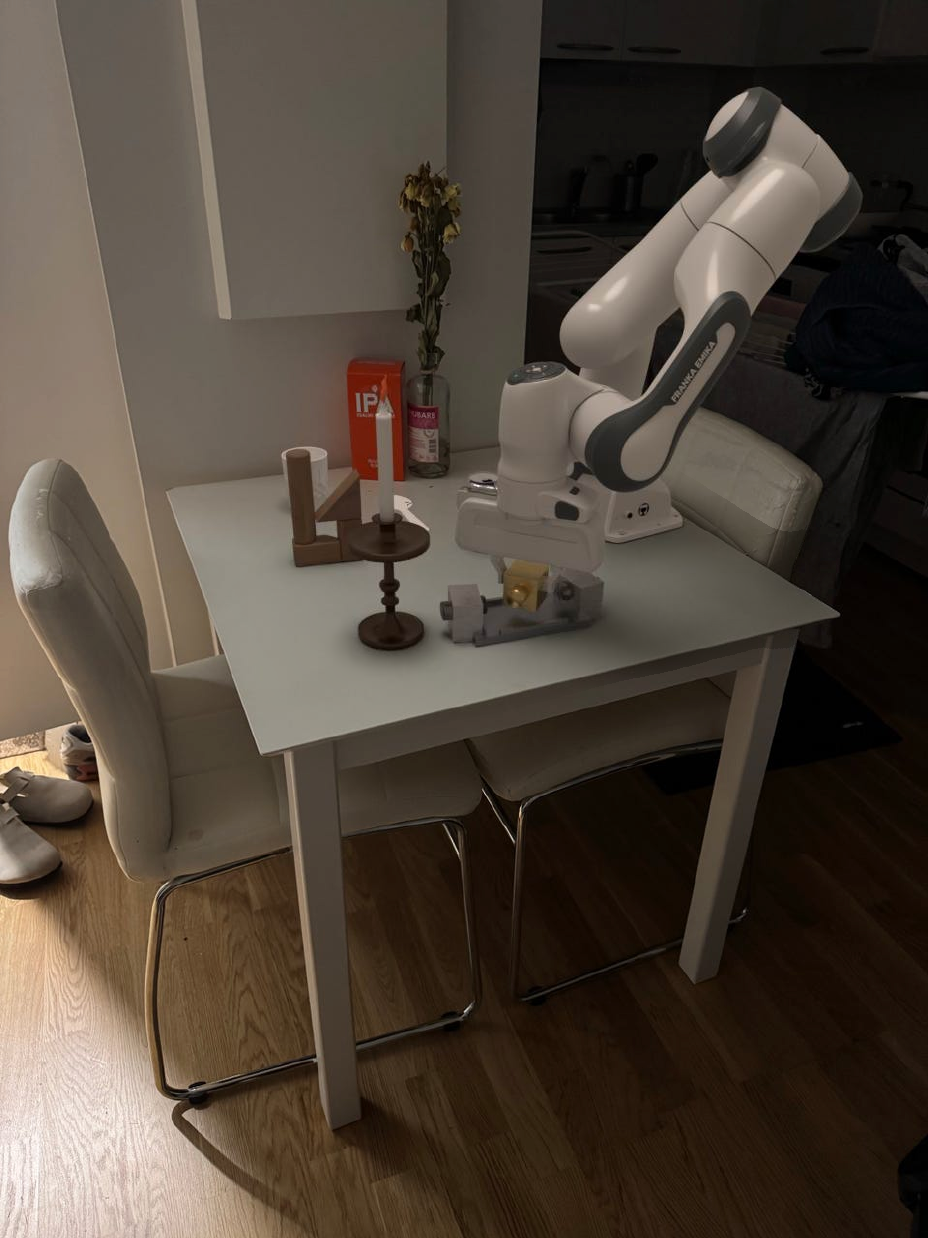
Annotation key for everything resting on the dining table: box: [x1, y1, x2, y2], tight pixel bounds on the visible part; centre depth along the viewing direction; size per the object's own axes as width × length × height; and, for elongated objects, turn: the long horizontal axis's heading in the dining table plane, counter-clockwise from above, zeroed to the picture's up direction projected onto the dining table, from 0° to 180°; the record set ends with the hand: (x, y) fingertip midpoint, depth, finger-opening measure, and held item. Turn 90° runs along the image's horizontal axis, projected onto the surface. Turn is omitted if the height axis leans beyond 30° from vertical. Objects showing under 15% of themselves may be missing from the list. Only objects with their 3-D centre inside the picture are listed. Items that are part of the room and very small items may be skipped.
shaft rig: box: [439, 568, 605, 648], centre depth 122 cm, size 23×9×6 cm, turn 110°
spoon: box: [394, 494, 430, 532], centre depth 157 cm, size 5×18×1 cm, turn 24°
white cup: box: [281, 446, 329, 512], centre depth 156 cm, size 8×8×10 cm
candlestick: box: [345, 374, 431, 652], centre depth 112 cm, size 11×11×35 cm
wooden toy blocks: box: [286, 449, 363, 567], centre depth 136 cm, size 4×11×18 cm, turn 106°
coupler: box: [502, 559, 550, 612], centre depth 121 cm, size 9×5×5 cm, turn 157°
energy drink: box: [466, 470, 497, 486], centre depth 142 cm, size 5×5×12 cm
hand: (526, 587), depth 121 cm, fingers closed on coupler, 5 cm apart
